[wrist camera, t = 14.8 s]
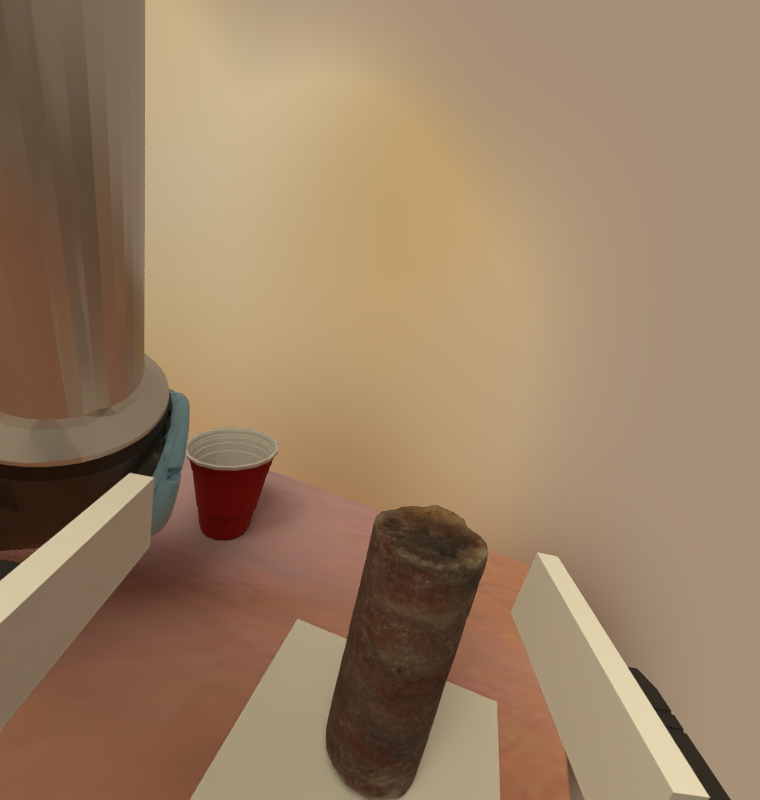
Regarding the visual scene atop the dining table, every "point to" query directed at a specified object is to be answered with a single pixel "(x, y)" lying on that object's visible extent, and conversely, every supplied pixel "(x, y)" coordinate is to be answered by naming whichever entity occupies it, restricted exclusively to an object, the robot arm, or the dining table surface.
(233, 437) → the plastic cup
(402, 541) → the brown rough cylinder
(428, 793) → the mat
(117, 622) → the dining table surface
